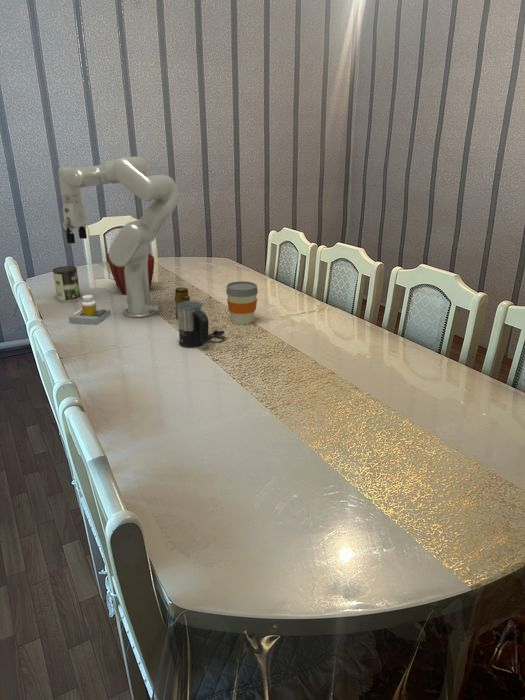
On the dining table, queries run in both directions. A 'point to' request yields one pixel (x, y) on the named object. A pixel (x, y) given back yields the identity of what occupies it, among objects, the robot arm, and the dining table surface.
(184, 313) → the milk frother
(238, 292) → the reusable coffee cup
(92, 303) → the supplement bottle
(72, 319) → the dock
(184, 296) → the condiment
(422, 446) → the dining table surface
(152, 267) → the plant pot
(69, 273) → the coffee can
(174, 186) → the robot arm
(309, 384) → the dining table surface
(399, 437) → the dining table surface
